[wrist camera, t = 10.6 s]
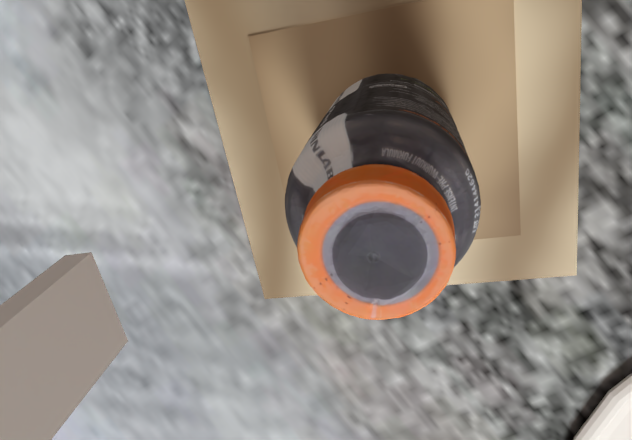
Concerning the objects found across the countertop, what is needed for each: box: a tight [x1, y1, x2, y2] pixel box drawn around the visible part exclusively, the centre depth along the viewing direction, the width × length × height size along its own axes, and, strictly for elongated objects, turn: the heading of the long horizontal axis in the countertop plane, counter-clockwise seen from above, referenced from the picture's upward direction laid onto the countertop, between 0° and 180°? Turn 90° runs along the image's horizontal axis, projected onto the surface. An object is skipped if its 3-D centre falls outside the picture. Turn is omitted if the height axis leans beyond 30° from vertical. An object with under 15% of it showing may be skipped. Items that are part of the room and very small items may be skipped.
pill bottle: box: [285, 74, 481, 320], centre depth 17 cm, size 6×6×11 cm
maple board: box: [185, 0, 582, 299], centre depth 22 cm, size 16×16×1 cm
